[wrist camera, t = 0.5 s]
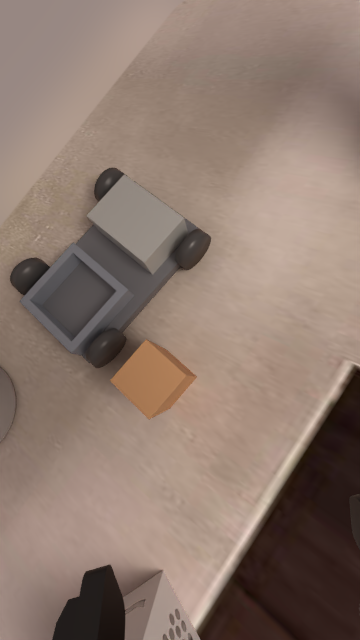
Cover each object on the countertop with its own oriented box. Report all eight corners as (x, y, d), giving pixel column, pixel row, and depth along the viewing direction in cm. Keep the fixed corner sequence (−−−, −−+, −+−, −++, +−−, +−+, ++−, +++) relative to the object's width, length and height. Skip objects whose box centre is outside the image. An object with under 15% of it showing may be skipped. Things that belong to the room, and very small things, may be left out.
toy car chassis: (129, 182, 42) (115, 153, 37) (214, 244, 38) (212, 222, 33) (25, 295, 41) (-4, 283, 36) (102, 371, 37) (82, 370, 32)
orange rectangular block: (166, 350, 37) (146, 339, 27) (196, 376, 35) (186, 375, 26) (140, 380, 36) (110, 380, 27) (169, 408, 35) (149, 419, 25)
